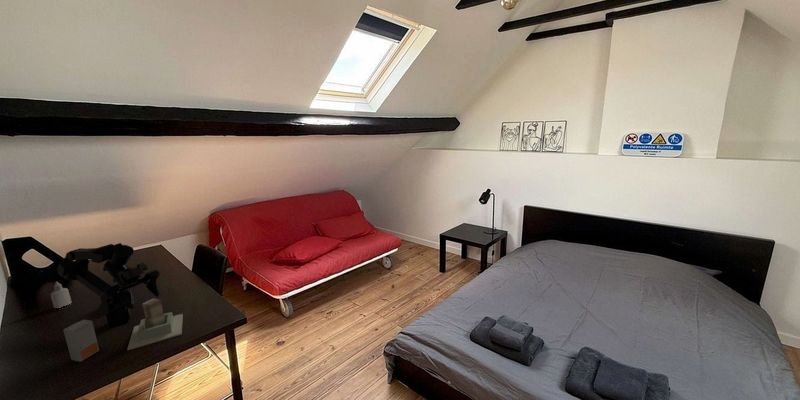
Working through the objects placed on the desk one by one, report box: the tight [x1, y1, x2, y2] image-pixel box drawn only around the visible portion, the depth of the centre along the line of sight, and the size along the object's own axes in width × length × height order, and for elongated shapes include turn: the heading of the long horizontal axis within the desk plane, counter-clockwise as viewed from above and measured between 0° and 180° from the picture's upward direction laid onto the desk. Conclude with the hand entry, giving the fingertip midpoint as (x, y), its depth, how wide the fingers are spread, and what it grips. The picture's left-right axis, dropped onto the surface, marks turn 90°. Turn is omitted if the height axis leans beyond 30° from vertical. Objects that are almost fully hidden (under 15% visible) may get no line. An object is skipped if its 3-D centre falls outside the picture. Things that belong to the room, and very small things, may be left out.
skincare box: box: [63, 319, 100, 362], centre depth 111 cm, size 6×4×12 cm
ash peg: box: [142, 297, 165, 328], centre depth 124 cm, size 4×4×12 cm
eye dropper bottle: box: [50, 281, 73, 309], centre depth 144 cm, size 4×6×12 cm
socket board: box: [127, 311, 184, 351], centre depth 125 cm, size 16×16×4 cm
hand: (146, 302), depth 124 cm, fingers open, 9 cm apart
